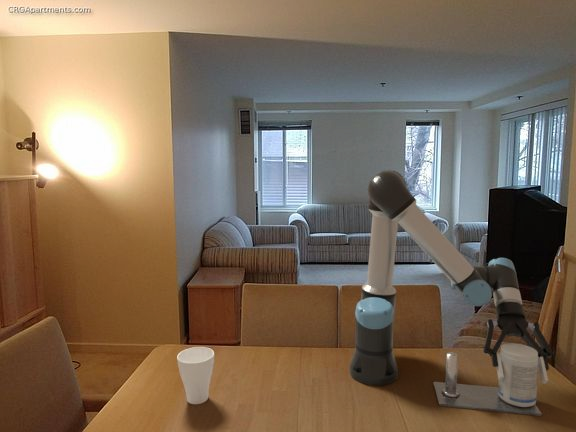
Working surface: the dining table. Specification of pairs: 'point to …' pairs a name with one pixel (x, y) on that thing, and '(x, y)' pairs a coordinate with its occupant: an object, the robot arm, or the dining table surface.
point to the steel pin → (451, 375)
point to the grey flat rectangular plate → (480, 399)
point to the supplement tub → (518, 374)
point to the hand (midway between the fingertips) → (522, 380)
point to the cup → (196, 372)
